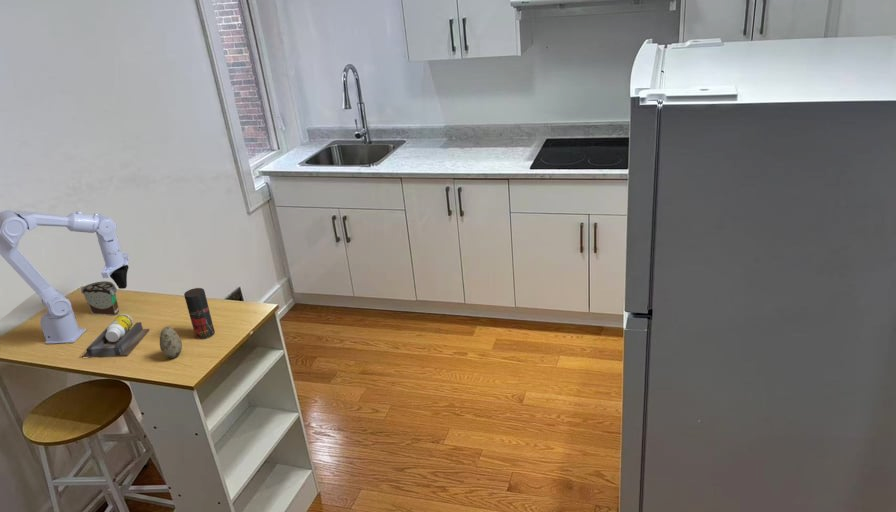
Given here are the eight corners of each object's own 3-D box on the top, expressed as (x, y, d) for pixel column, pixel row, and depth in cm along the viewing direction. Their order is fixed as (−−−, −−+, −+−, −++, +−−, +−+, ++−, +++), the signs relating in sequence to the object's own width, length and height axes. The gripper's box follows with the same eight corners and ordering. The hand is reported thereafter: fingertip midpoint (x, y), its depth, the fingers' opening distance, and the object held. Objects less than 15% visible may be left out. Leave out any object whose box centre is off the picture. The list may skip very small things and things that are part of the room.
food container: (131, 306, 230) (123, 281, 225) (119, 315, 224) (110, 289, 220) (100, 305, 232) (92, 279, 228) (88, 313, 227) (79, 288, 223)
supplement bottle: (136, 325, 214) (123, 342, 206) (121, 329, 215) (107, 346, 206) (128, 311, 212) (115, 327, 203) (113, 315, 213) (99, 331, 204)
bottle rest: (82, 358, 201) (79, 349, 199) (107, 332, 214) (104, 323, 213) (127, 356, 200) (124, 347, 198) (149, 330, 213) (146, 322, 212)
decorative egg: (176, 348, 202) (168, 320, 198) (188, 353, 199) (180, 325, 194) (159, 358, 197) (150, 329, 193) (171, 363, 194) (163, 334, 190)
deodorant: (191, 335, 208) (180, 293, 202) (209, 327, 212) (198, 286, 206) (201, 341, 205) (189, 298, 198) (218, 333, 209) (207, 291, 202)
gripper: (112, 259, 208) (124, 297, 214) (133, 241, 222) (144, 277, 227) (90, 260, 209) (103, 298, 214) (113, 242, 222) (124, 278, 228)
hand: (123, 287), depth 221 cm, fingers closed
